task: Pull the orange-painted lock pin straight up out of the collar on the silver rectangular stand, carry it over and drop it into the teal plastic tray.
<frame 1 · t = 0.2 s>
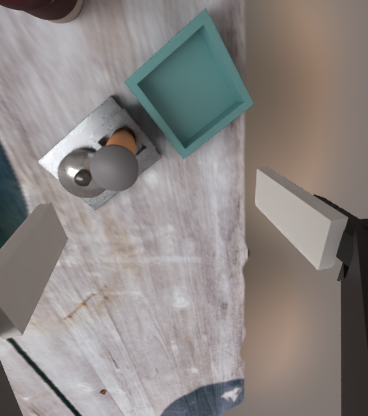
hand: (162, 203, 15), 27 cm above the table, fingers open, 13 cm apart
tray: (188, 93, 37), on the table
silver rectangular stand: (103, 157, 39), on the table
lock pin: (124, 140, 37), point 1 cm above the table, touching silver rectangular stand
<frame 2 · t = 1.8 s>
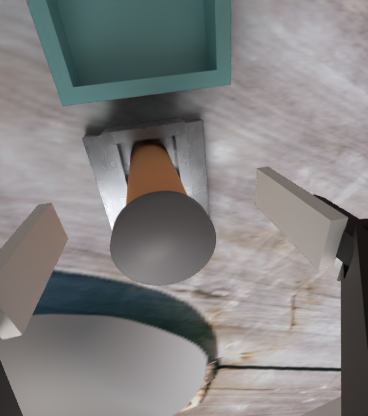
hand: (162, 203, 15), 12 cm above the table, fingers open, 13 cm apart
silver rectangular stand: (156, 194, 27), on the table
lock pin: (149, 158, 24), point 1 cm above the table, touching silver rectangular stand
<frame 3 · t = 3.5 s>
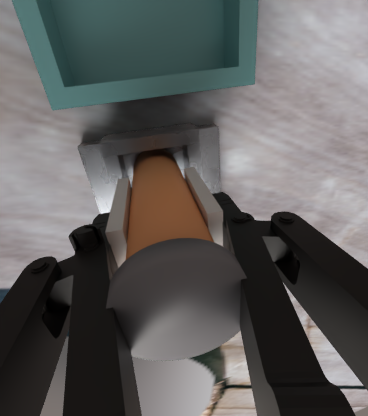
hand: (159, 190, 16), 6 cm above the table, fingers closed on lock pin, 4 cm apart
silver rectangular stand: (162, 209, 24), on the table
lock pin: (156, 169, 20), point 1 cm above the table, touching gripper, silver rectangular stand
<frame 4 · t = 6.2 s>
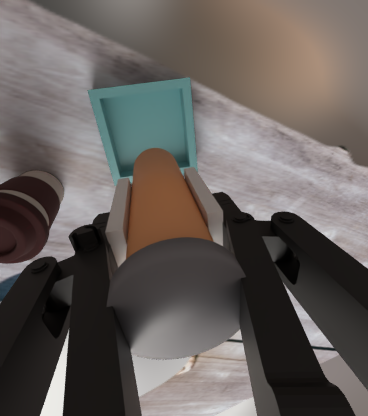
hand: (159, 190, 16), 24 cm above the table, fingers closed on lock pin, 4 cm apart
coffee cup: (42, 188, 39), on the table
tray: (148, 131, 37), on the table
lock pin: (156, 169, 20), point 20 cm above the table, touching gripper
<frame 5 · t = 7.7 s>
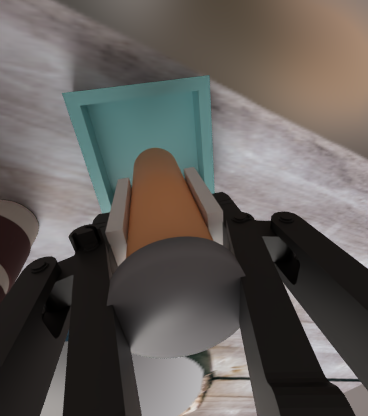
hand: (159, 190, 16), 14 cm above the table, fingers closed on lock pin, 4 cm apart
coffee cup: (10, 222, 30), on the table
tray: (149, 147, 28), on the table
lock pin: (155, 169, 20), point 9 cm above the table, touching gripper
when the fingers open (7 cm above the table, at t = 9.0 s): lock pin drops 1 cm, resting on tray.
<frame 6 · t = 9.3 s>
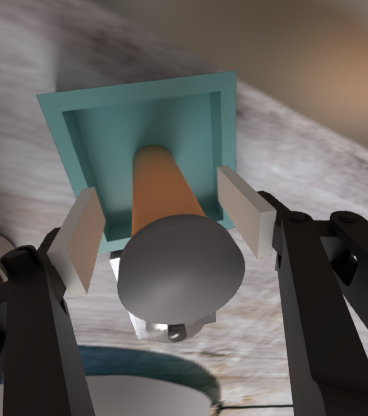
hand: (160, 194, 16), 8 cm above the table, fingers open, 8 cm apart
tray: (154, 161, 23), on the table
silver rectangular stand: (169, 286, 31), on the table
lock pin: (153, 165, 22), point 1 cm above the table, touching tray
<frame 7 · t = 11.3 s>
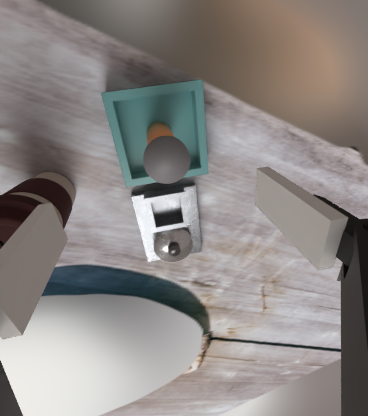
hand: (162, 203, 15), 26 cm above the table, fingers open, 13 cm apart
coffee cup: (54, 190, 40), on the table
tray: (159, 133, 37), on the table
silver rectangular stand: (169, 222, 46), on the table
lock pin: (159, 134, 37), point 1 cm above the table, touching tray
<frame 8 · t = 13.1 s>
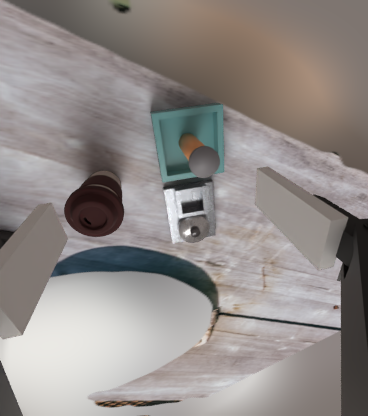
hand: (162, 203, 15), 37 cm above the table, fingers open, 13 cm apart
coffee cup: (105, 184, 51), on the table
tray: (187, 141, 50), on the table
silver rectangular stand: (190, 211, 58), on the table
lock pin: (187, 142, 49), point 1 cm above the table, touching tray
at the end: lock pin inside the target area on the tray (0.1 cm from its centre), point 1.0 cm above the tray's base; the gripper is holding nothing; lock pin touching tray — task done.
